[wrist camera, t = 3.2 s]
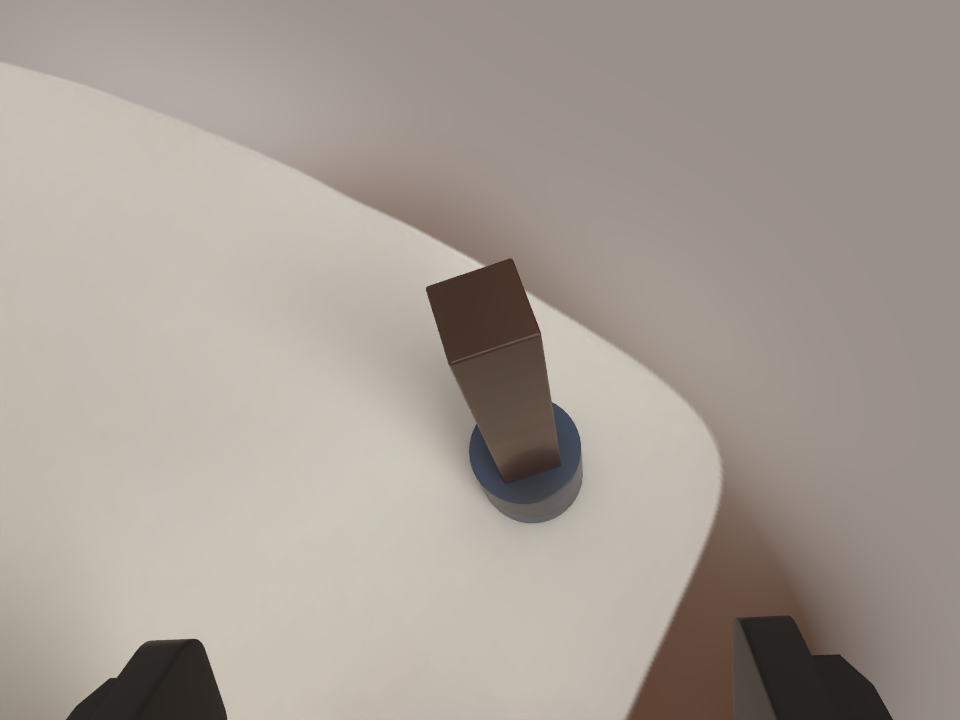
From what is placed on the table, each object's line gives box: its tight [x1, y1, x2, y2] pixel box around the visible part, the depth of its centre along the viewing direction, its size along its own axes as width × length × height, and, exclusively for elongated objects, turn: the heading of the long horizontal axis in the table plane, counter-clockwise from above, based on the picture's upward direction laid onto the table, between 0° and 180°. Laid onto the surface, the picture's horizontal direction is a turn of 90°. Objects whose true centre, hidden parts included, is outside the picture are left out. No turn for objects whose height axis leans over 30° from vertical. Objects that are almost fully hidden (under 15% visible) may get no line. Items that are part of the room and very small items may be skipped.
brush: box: [426, 259, 582, 523], centre depth 25 cm, size 5×5×16 cm
